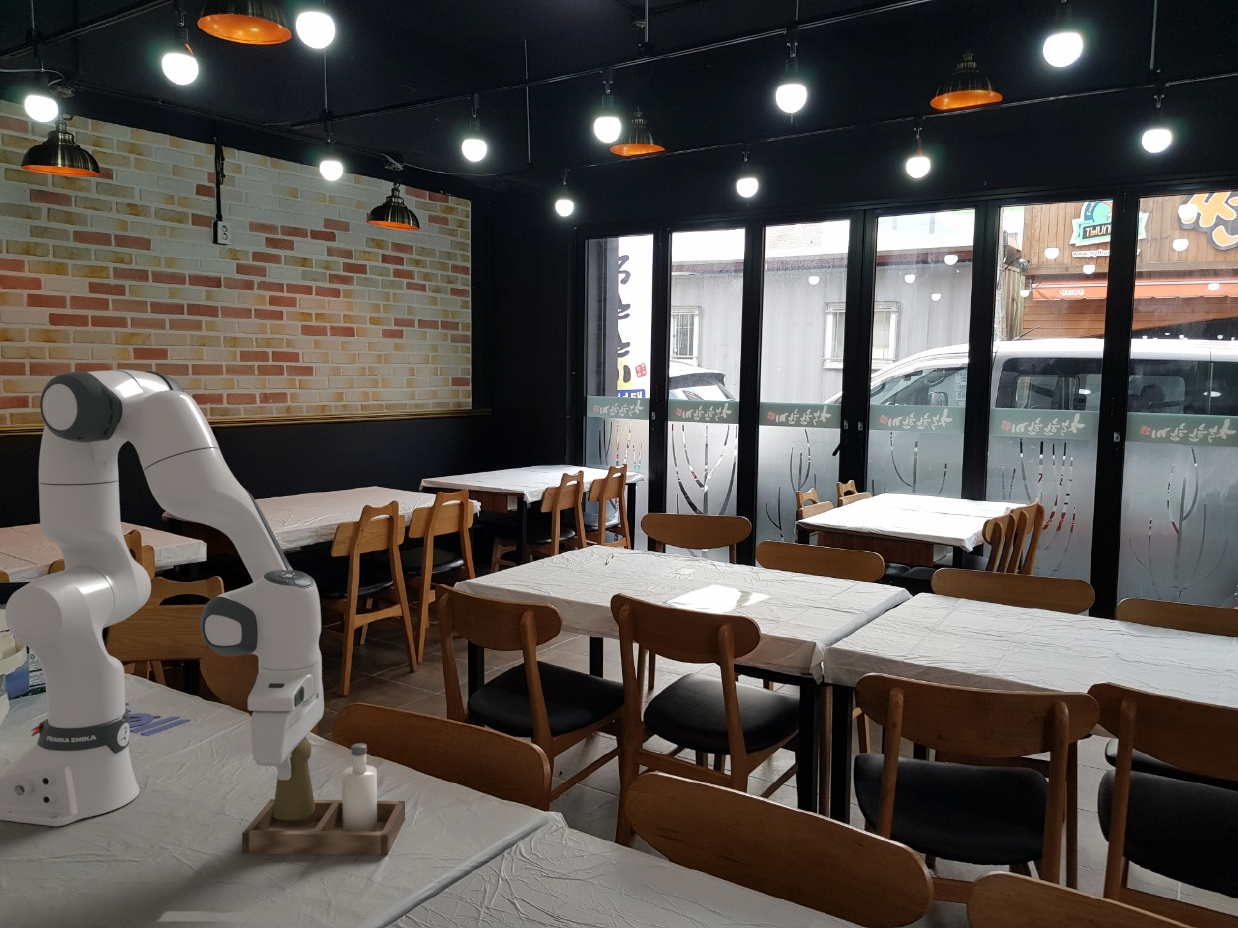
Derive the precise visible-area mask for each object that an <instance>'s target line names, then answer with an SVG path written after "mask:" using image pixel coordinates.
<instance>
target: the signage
mask: <svg viewBox="0 0 1238 928" xmlns="http://www.w3.org/2000/svg"><path fill="white" fill-rule="evenodd" d="M126 706H129V702H125V707H126ZM126 709H127V710H128V713H129V729H130V733H131V732H132V733H134V734H138V733H140V735H141V736H145V737H149V736H153V735H155V734H158V733H161V732H163V731H166V730H169V729H172V728H174V727H176V726H180V725H182V724H186V723H188V722H190V721H191V719H190V718H189V719H187V718H185V719H182V718H180V716H169V717H165V718H164V717H163V718H162V717H161V715H157V714H155V715H153V714H150V713H145V712H144V713H141V712H136V713H135V712H134V713H130V712H132V710H131V709H129V708H126ZM155 719H159V720H157V721H153V720H155ZM160 719H161V720H160ZM177 719H178V720H177ZM166 723H167V724H166Z"/></svg>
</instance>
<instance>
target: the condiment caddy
mask: <svg viewBox="0 0 1238 928" xmlns="http://www.w3.org/2000/svg"><path fill="white" fill-rule="evenodd" d="M274 802H275V798H273V799H272V798H271V799H269V800H268V802H267V803H266V804H265V806H264V807H263V808H262V809H261V810H260V812H258V814H257V815H256V816H255V817H254V819H253V820H252V821H251V822H250V823H249V825H248V826H247V827H246V828H245V830H244V831H243V832H242V833H241V839H242V840H241V841H242V842H241V843H242V846H241V847H242V854H243V855H248V854H249V855H316V856H317V855H319V856H321V855H322V856H324V855H325V856H326V855H327V856H329V855H331V856H334V855H335V856H344V855H345V856H388V855H389V853H390V852H391V849H392V847H393V845H394V843H395V841H396V839H397V837H398V835H399V832H400V830H401V829H402V826H403V824H404V822H405V820H406V801H405V800H377V832H364V831H343V807H342V799H314V803H315V811H314V812H313V813H312V814H311V815H309V816H307V817H305V818H301V819H298V820H279V819H277V818H275V817H274V816H273V810H274Z"/></svg>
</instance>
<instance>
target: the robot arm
mask: <svg viewBox="0 0 1238 928" xmlns="http://www.w3.org/2000/svg"><path fill="white" fill-rule="evenodd" d="M39 403H40V404H39V408H40V409H39V410H40V414H41V418H42V420H43V423H44V428H43V432H42V437H41V441H40V442H41V443H40V450H39V457H38V458H39V460H38V491H39V492H38V495H39V496H38V497H39V519H40V521H39V523H40V524H39V525H40V530H41V532H42V534H43V535H44V536H45V537H46V538H48V539H49V540H51V541H53V542H55V544H56V545H57V547H58V548H59V549H60V552H61V554H62V557H63V562H64V570H60V571H56V572H53V573H48V574H45V575H42V576H39V577H37V578H36V579H33V580H32V581H31V582H29V583H27V584H25V585H24V586H22V587H20V588H19V589H16V591H14V592H13V593H12V594H11V595H10V597H9V599H8V601H7V602H6V606H5V611H4V617H5V622H6V626H7V628H8V630H9V632H10V634H11V635H12V636H13V638H15V639H16V640H17V641H18V642H19V643H21V644H23V645H25V646H27V647H28V648H30V649H31V651H32V652H33V654H34V655H35V656H36V659H37V660H38V662H39V665H40V667H41V669H42V673H43V677H44V683H45V691H46V693H45V695H46V705H47V706H46V707H47V718H46V719H44V720H42V721H41V722H39V723H38V725H37V726H35V727H34V728H32V729H30V731H31V732H32V733H31V737H34V736H36V735H38V734H39V737H38V739H37V743H35V744H34V745H32V746H31V747H30V748H29V749H27V750H26V751H25V752H24V753H22V754H20V756H18V757H17V758H16V759H15V760H13V761H12V762H11V763H10V764H8V765H7V767H6V768H4V770H3V772H1V775H0V821H8V822H15V823H24V824H32V825H41V826H50V827H51V826H52V827H60V826H61V827H62V826H66V825H68V824H71V823H74V822H76V821H79V820H82V819H85V818H90V817H93V816H98V815H102V814H106V813H108V812H112V811H114V810H116V809H119V808H121V807H124V806H126V805H127V804H129V803H131V801H133V800H134V799H135V798H137V796H138V795H139V793H140V787H139V785H138V781H137V779H136V775H135V773H134V769H133V765H132V759H131V755H130V749H129V748H130V747H129V746H130V745H129V744H130V733H131V732H130V730H131V728H129V724H130V723H129V714H130V712H128V710H129V709H128V708H126V706H125V703H126V683H125V680H126V679H125V667H124V665H123V663H122V662H121V661H120V660H119V659H118V658H116V657H114V656H112V655H110V654H109V653H108V651H107V648H106V646H105V643H104V639H103V630H104V628H105V629H106V628H108V627H110V626H112V625H116V624H118V623H120V622H123V621H125V620H127V619H128V618H129V617H131V616H133V615H134V614H135V613H136V612H138V611H140V610H141V608H142V607H144V605H145V604H146V603H147V602H148V600H149V599H150V596H151V592H152V582H151V579H150V576H149V574H148V571H147V570H146V569H145V568H144V566H143V565H141V564H140V563H139V562H137V561H136V560H135V559H134V557H133V556H132V554H131V552H130V549H129V548H128V545H127V543H126V539H125V536H124V533H123V529H122V522H121V505H120V486H119V485H120V483H119V480H120V479H119V465H118V464H119V463H118V458H119V452H120V449H121V447H122V446H123V445H124V444H125V443H127V442H129V443H131V444H132V445H133V447H134V448H135V450H136V453H137V455H138V458H139V461H140V464H141V467H142V471H143V472H144V473H143V474H144V476H145V478H146V482H147V485H148V487H149V490H150V492H151V494H152V496H153V497H154V499H155V500H156V502H157V503H158V505H159V506H160V507H161V509H163V510H164V511H166V512H168V513H169V514H171V515H172V516H175V517H177V518H180V519H183V520H186V521H191V522H195V523H199V524H200V523H201V524H204V525H207V526H210V527H212V528H214V529H216V530H218V531H220V532H221V533H223V534H225V535H226V536H227V537H228V538H229V539H230V541H231V542H232V543H233V545H234V547H235V549H236V550H237V552H238V554H239V557H240V559H241V560H242V563H243V564H244V566H245V568H246V569H247V571H248V574H249V576H250V577H251V579H252V583H250V584H248V585H245V586H242V587H240V588H237V589H234V590H229V591H227V592H224V593H221V594H219V595H216V596H215V597H212V598H211V599H209V601H208V602H206V604H205V605H204V608H203V609H202V612H201V614H200V615H201V616H200V623H199V625H200V631H201V636H202V638H203V640H204V642H205V644H206V645H207V647H209V649H211V651H213V652H214V653H216V654H217V655H219V656H222V657H239V656H246V655H255V656H257V657H258V658H257V659H258V674H257V676H256V680H255V684H254V685H253V688H252V689H251V691H250V693H249V694H248V697H247V710H248V711H250V712H251V711H253V712H252V713H251V719H250V720H251V721H250V733H251V748H252V757H253V760H254V762H255V764H256V765H257V766H261V767H276V769H277V777H278V779H279V780H289V779H290V778H291V776H292V775H293V765H291V761H290V757H291V752H292V751H293V750H294V749H295V748H296V747H297V745H298V744H299V743H300V742H301V741H302V740H303V739H304V738H305V739H307V740H308V741H309V738H310V732H311V731H312V729H314V728H315V727H316V726H317V724H318V723H319V722H320V721H321V720H322V718H323V717H324V711H325V699H324V685H323V679H322V678H323V675H322V674H323V672H322V671H323V666H322V665H323V664H322V663H323V662H322V660H323V658H322V654H321V653H322V652H321V650H320V645H319V641H320V637H321V632H322V614H321V613H322V612H321V603H320V601H321V600H320V594H319V590H318V587H317V583H316V582H315V580H314V578H313V577H312V576H311V575H308V574H307V573H304V571H303V572H302V571H298V570H293V568H292V566H291V565H290V563H289V561H288V559H287V557H286V554H284V552H283V550H282V548H281V545H280V544H279V542H278V540H277V538H276V536H275V534H274V532H273V530H272V529H271V526H270V524H269V522H268V520H267V519H266V517H265V514H264V513H263V511H262V510H261V507H260V506H259V504H258V503H257V501H256V499H255V498H254V496H253V495H252V494H251V493H250V492H249V491H248V490H247V489H246V488H244V486H242V485H241V484H240V482H239V481H238V480H237V478H236V477H235V476H234V474H233V472H232V471H231V470H230V468H229V466H228V464H227V463H226V461H225V459H224V456H223V454H222V452H221V449H220V446H219V443H218V441H217V439H216V437H215V435H214V433H213V429H212V428H211V426H210V424H209V422H208V420H207V418H206V417H205V415H204V413H203V411H202V409H201V408H200V407H199V405H198V404H197V401H196V400H195V399H194V397H192V396H191V395H189V394H188V393H186V392H185V391H184V388H183V387H182V385H181V384H180V383H179V382H178V381H177V380H176V379H175V378H172V377H171V376H169V375H167V374H163V373H160V372H157V371H147V370H146V371H140V370H132V369H116V368H115V369H114V368H113V369H110V370H95V371H84V370H75V371H71V372H66V373H62V374H58V375H56V376H54V377H52V378H51V379H50V380H48V381H47V383H46V384H45V385H44V388H43V390H42V392H41V395H40V400H39ZM127 709H128V710H127Z"/></svg>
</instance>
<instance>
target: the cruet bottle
mask: <svg viewBox="0 0 1238 928" xmlns="http://www.w3.org/2000/svg"><path fill="white" fill-rule="evenodd" d="M367 746H368V745H367V744H366V743H365V742H364V743H363V742H362V743H361V742H360V743H359V742H358V743H354V744H352V745H351V746H350V747H351V755H352V756H351V757H352V758H351V763H352V766H349V767H347V768H346V769H344V770H343V771H342V773H341V788H342V789H341V791H342V793H341V797H342V798H341V800H342V807H343V831H364V832H377V801H378V782H377V781H378V779H377V778H378V773H377V771H378V769H377V768H376V767H375V766H373V765H368V764H367V752H368V747H367Z"/></svg>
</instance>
